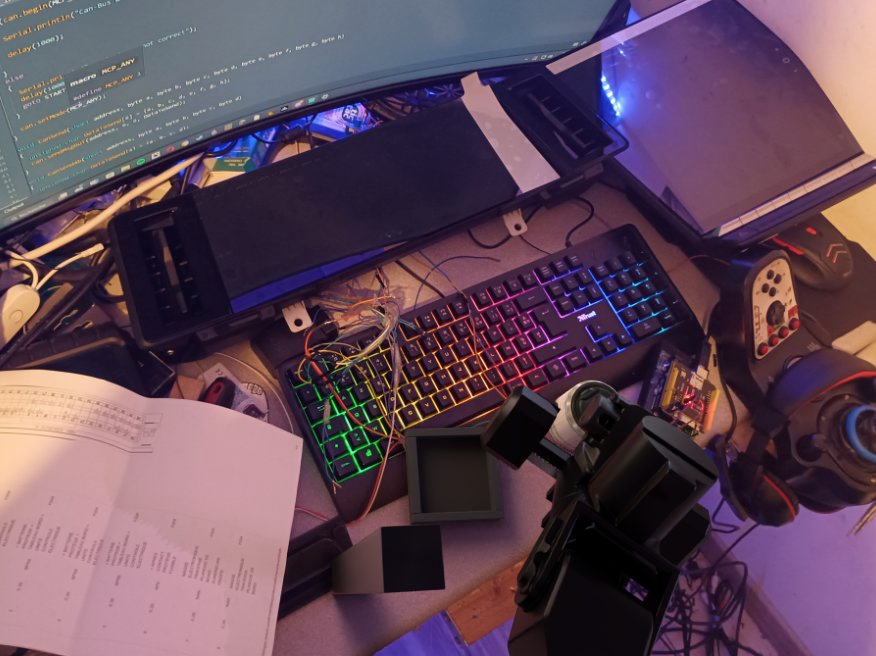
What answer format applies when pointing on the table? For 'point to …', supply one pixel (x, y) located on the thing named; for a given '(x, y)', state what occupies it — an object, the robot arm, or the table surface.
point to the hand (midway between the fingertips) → (595, 434)
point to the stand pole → (392, 562)
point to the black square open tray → (451, 477)
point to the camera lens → (576, 411)
